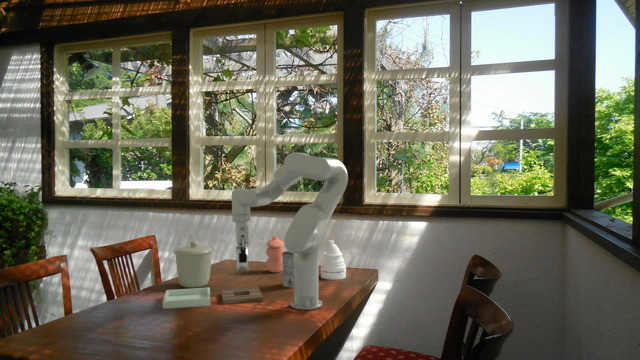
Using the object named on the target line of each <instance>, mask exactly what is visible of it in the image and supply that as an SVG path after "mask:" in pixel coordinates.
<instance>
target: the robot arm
mask: <svg viewBox="0 0 640 360" xmlns="http://www.w3.org/2000/svg"><path fill="white" fill-rule="evenodd" d="M273 178H274V179H272V180H271V182H270V183H268V184H266V185H265V186H263V187H256V188H250V189H249V188H248V189H247V188H238V189H237V188H235V189H233V190H232V191H231V215H232V216H231V218H232V220H231V221H232V223H234V224H235V225H234V226H235V242H236V244H237V246H239V252H240V253H239V263H244V262H247V253H246V246H250V228H249V222H251V208H255V207H261V206H267V205H269V204H271V203H273V202H274V201H276V200H278V198H280V197H281V196H283V194H284V193H285V192H286V191H287V189H288V188H289V187H292V186H293V185H294V184H296V183H297V182H298V181H300V180H301V179H302V178H305V179H310V180H315V181H325V182H324V184H323V186H322V187H321V188H320V189H319V190H318V193H317V196H316V197H315V199H314V200H313V201H312V203H308V204H304V205H303V206H302V207H300V209H298V210H297V212H296V214H295V215H294V218H293V219H292V221H291V223H290V225H289V226H288V229H287V230H286V232H285V235H284V238H283V242H284V246H285V249H286V251H289V252H291V253H295V261H294V288H293V290H294V297H293V299H294V300H292V301H290V307H292V308H294V309H296V310H303V311H307V310H309V311H310V310H315V309H319V308H322V306H323V302H322V300H320V299H319V259H320V258H319V257H320V256H319V255H320V254H319V253H320V247H321V234H320V232H319V230H318V228H322V227H324V226H326V225H327V224H328V222H329V221H330V219H331V217H332V215H333V213H334V211H335V209H336V208H337V206H338V204H339V202H340V200H341V199H342V196H343V195H344V193H345V191H346V188H347V186H348V181H349V175H348V171H347V168H346V166H345V165H344V164H343V162H342V161H340V160H339V159H337V158H333V157H318V156H314V155H313V156H312V155H310V154H309V153H306V152H296V151H295V152H291V153H289V154H288V155H286V157H285V158H284V160H283V165H281V166H280V167H279V168H277V169H276V170H275V171H274V172H273Z"/></svg>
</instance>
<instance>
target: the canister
mask: <svg viewBox="0 0 640 360" xmlns="http://www.w3.org/2000/svg"><path fill="white" fill-rule="evenodd" d="M214 251H215V250H214V249H213V248H212V247H210V246H208V245H199V242H198V241H197V240H191V241H190V242H189V245H186V246H181V247H177V248H176V250H174V251H173V253H174V255H175V261H176V262H175V263H176V270H177V278H178V283H179V285H180V286H181V287H183V288H186V289H194V288H203V287H204V286H206V285H208V284H209V281H210V277H211V268H212V260H213V252H214Z"/></svg>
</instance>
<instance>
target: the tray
mask: <svg viewBox="0 0 640 360" xmlns="http://www.w3.org/2000/svg"><path fill="white" fill-rule="evenodd" d="M198 307H200V308H201V307H211V287H196V288H180V289H166V291H165V294H164V297H163V299H162V310H169V309H170V310H171V309H173V310H174V309H186V308H198Z"/></svg>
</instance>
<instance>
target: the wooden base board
mask: <svg viewBox="0 0 640 360" xmlns="http://www.w3.org/2000/svg"><path fill="white" fill-rule="evenodd" d="M221 300H222V304H223V305H229V304H231V305H232V304H243V303H246V302H247V303H258V302H257V301H260V302H263V301H264V297H263V294H262V292H261V290H260V287H259V286H256V287H255V286H254V287H243V288H242V287H241V288H228V289H227V288H225V289H221Z"/></svg>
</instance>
